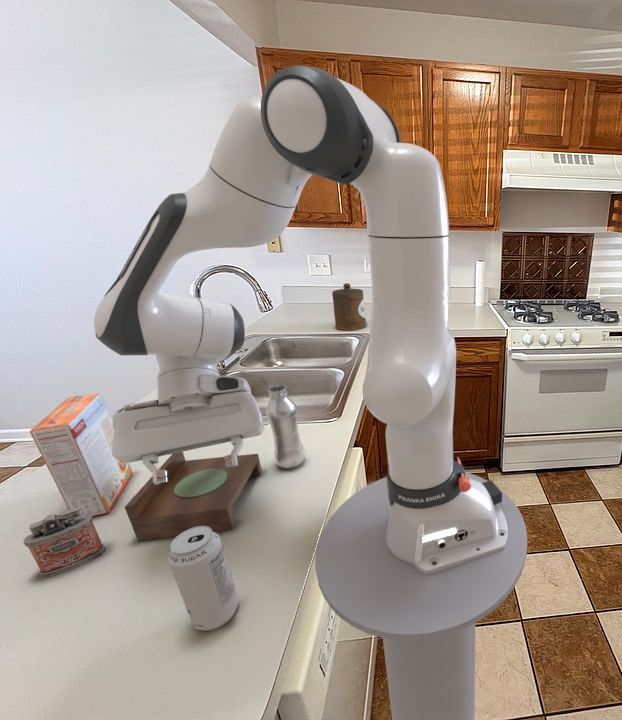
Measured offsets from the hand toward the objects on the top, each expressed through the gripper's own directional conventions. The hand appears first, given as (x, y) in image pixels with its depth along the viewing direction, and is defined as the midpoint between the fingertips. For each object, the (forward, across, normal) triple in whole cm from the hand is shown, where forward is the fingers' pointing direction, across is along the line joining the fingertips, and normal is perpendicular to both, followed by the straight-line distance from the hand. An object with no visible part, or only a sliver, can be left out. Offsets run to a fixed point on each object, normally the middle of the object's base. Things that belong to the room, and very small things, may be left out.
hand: (197, 474), depth 63 cm
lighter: (+5, -23, +20) cm, 31 cm away
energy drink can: (+21, 0, +5) cm, 21 cm away
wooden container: (-84, +46, +110) cm, 145 cm away
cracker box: (-8, -24, +34) cm, 42 cm away
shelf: (0, -4, +25) cm, 26 cm away
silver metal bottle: (-4, +12, +30) cm, 33 cm away
